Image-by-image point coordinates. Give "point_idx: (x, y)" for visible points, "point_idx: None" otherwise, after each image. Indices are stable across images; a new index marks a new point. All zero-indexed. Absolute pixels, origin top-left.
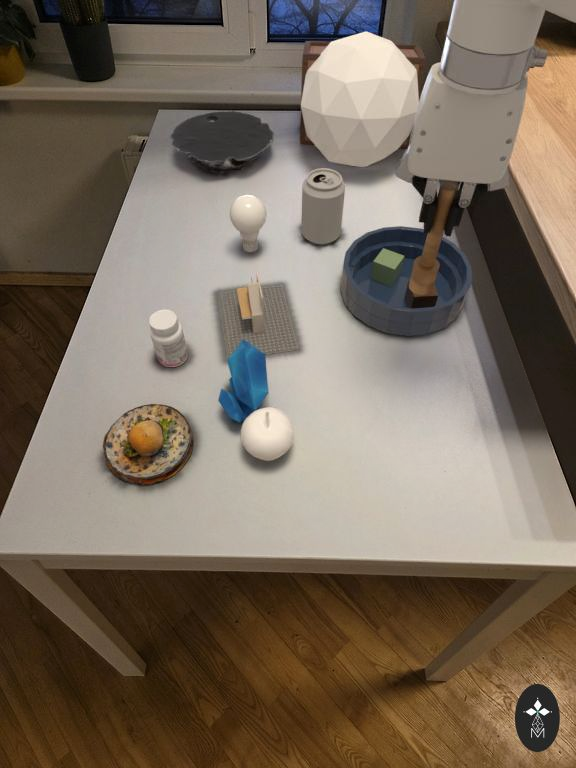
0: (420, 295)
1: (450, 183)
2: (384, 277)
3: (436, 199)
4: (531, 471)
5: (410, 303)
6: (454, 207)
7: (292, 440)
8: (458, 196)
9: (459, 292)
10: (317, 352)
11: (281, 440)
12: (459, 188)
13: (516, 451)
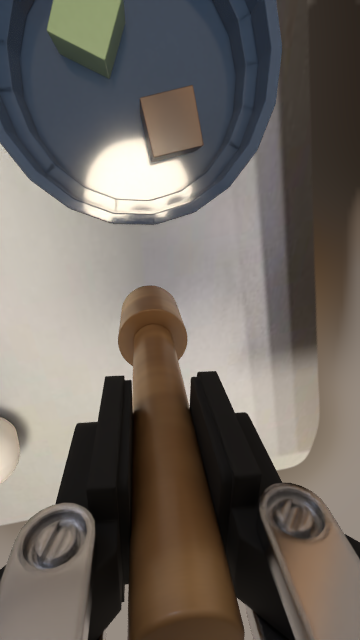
0: (167, 150)
1: (203, 624)
2: (88, 62)
3: (128, 545)
4: (294, 395)
5: (150, 151)
6: None
7: (18, 457)
8: (249, 598)
9: (247, 110)
10: (9, 275)
11: (1, 480)
12: (265, 553)
13: (283, 376)
